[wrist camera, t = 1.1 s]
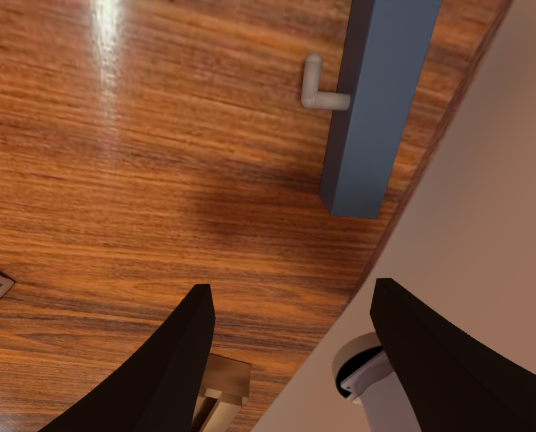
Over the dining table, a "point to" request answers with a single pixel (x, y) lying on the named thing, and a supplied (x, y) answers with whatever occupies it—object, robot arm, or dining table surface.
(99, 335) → the dining table surface
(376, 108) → the slate blue rectangular box
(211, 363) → the rack
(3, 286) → the syrup box
